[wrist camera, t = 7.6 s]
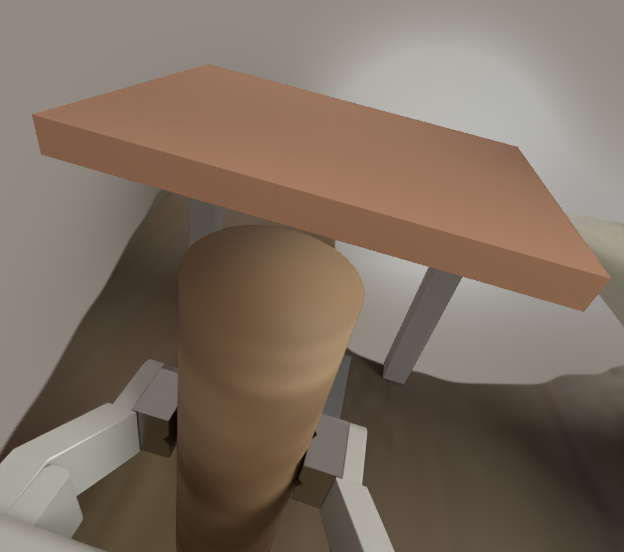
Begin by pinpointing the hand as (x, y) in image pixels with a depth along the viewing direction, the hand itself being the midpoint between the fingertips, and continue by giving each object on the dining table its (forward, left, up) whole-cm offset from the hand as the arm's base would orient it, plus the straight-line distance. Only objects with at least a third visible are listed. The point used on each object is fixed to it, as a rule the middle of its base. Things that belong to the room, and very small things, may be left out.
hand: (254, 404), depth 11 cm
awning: (-6, -11, -17) cm, 21 cm away
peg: (+1, +1, -6) cm, 7 cm away
